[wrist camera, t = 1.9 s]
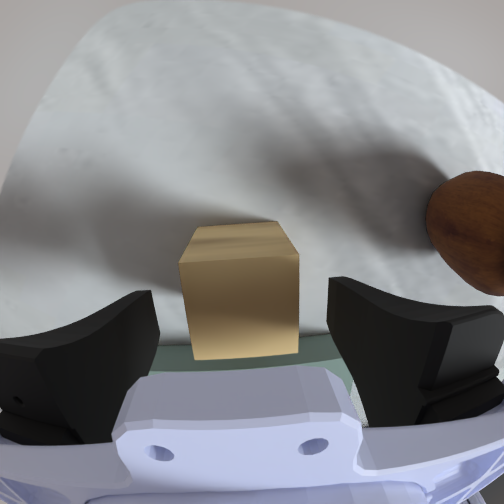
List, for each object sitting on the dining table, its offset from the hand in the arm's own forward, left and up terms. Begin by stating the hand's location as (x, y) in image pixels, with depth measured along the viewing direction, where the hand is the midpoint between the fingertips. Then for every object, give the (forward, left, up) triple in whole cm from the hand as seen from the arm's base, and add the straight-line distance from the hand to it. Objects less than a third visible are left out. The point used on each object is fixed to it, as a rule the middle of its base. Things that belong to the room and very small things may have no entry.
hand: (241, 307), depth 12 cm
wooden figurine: (+2, -14, -6) cm, 15 cm away
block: (0, 0, -6) cm, 6 cm away
